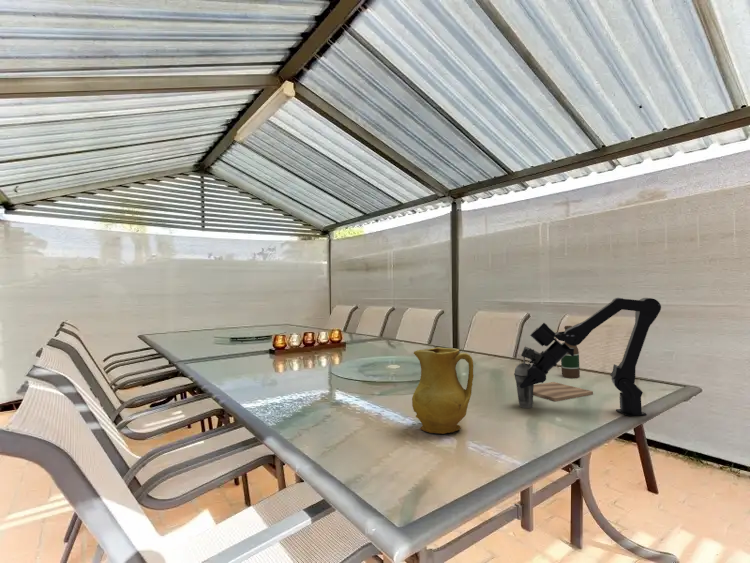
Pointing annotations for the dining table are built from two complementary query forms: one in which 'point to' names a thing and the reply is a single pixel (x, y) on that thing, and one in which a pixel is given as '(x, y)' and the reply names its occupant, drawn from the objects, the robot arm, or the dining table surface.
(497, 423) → the dining table surface
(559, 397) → the walnut board
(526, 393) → the beverage cup
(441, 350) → the pitcher
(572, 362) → the beer bottle
